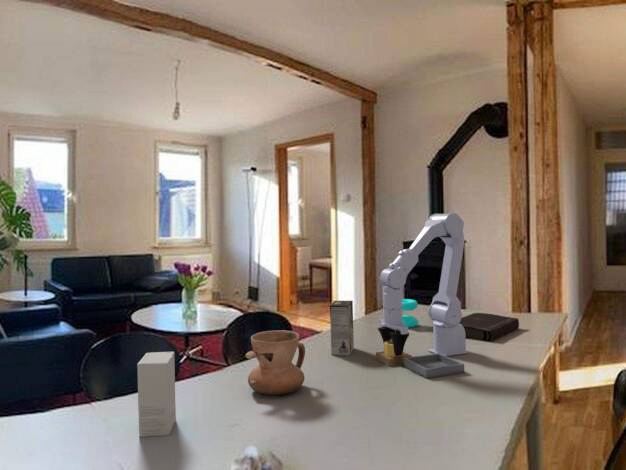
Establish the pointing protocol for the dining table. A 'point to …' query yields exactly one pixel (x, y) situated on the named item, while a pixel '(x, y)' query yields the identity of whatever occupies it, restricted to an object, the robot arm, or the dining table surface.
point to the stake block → (391, 358)
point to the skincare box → (156, 394)
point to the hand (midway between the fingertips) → (393, 352)
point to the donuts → (408, 306)
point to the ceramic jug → (276, 362)
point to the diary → (488, 326)
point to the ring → (389, 349)
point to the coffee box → (341, 327)
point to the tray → (433, 365)
